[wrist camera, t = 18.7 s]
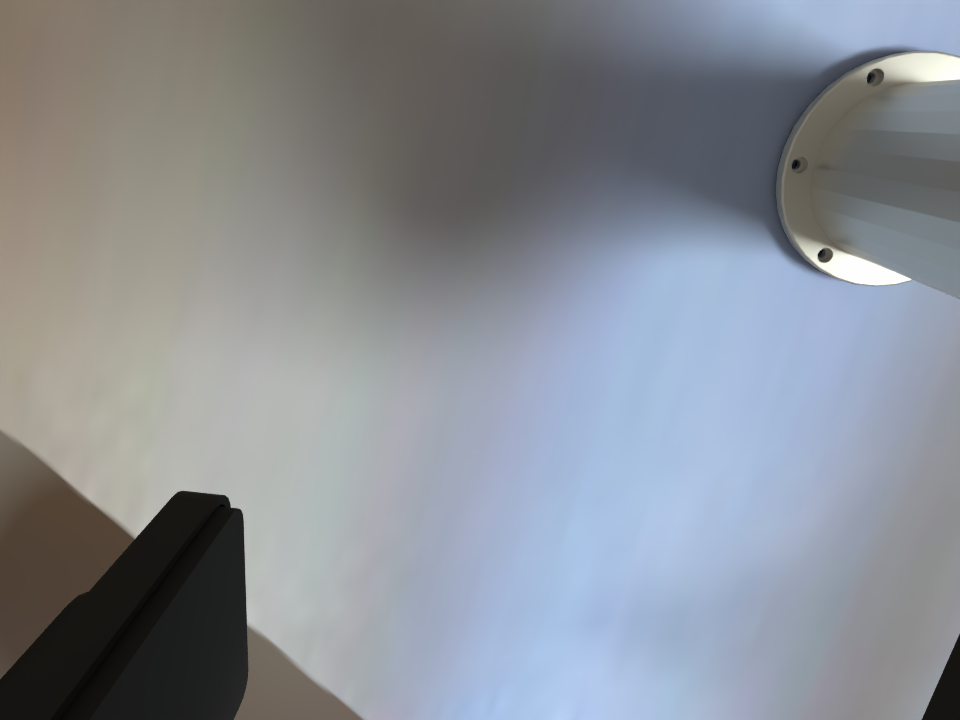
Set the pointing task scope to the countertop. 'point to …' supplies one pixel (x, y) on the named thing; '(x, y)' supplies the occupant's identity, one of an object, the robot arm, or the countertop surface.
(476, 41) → the countertop surface
